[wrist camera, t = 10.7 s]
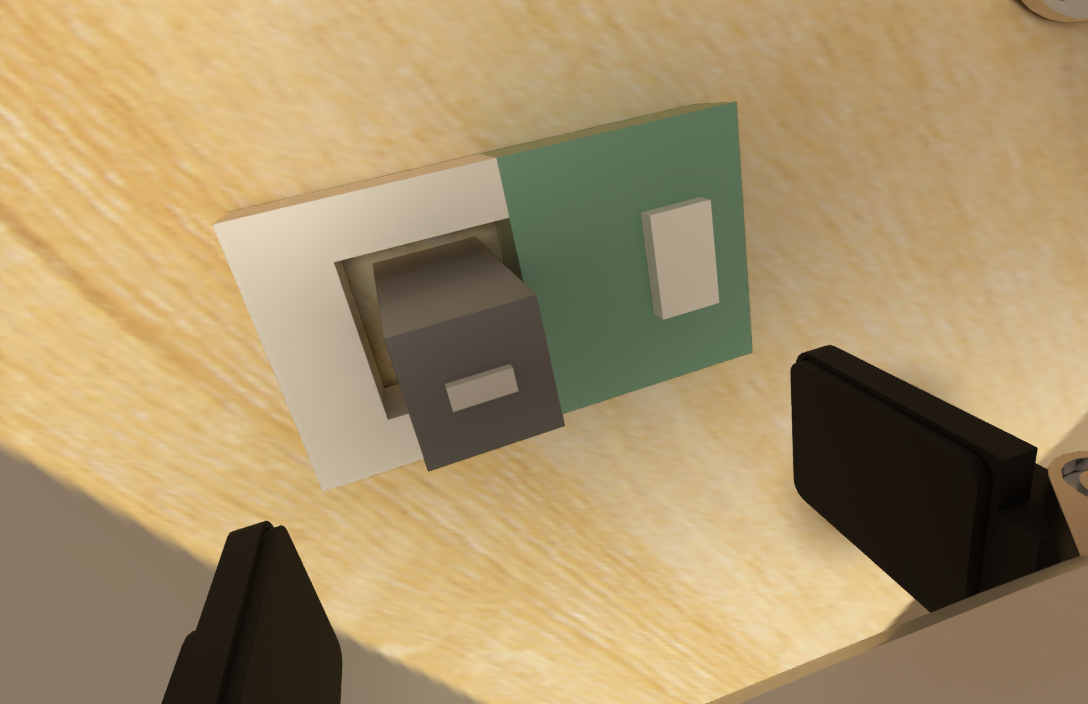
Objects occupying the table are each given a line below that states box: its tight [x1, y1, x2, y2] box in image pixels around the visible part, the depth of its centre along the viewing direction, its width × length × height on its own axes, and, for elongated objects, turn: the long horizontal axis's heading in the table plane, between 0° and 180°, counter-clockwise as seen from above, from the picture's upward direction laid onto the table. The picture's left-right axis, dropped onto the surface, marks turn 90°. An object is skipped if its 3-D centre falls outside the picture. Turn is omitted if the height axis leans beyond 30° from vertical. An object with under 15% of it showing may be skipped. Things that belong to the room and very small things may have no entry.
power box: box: [212, 102, 752, 491], centre depth 23 cm, size 18×10×4 cm, turn 102°
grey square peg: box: [373, 237, 565, 472], centre depth 20 cm, size 4×4×9 cm
